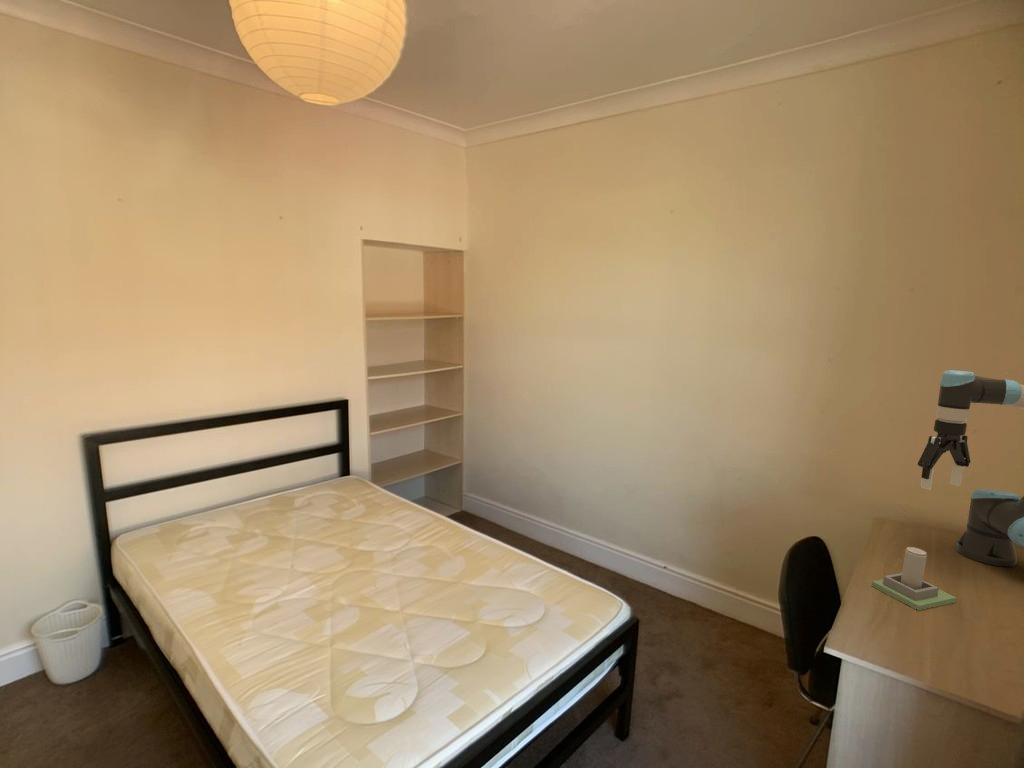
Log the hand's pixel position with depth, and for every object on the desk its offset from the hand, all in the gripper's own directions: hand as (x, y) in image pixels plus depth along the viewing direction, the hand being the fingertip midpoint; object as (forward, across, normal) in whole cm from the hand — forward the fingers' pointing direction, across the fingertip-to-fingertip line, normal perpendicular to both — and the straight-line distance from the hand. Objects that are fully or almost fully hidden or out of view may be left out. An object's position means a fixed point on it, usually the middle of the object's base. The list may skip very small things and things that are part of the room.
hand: (940, 487), depth 161 cm
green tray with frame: (+27, +22, +10) cm, 36 cm away
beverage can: (+25, +24, +10) cm, 36 cm away
